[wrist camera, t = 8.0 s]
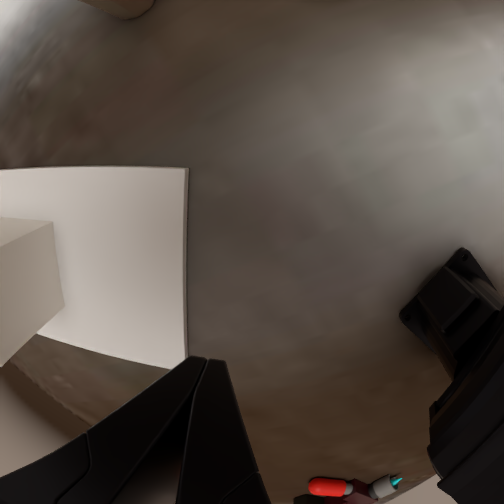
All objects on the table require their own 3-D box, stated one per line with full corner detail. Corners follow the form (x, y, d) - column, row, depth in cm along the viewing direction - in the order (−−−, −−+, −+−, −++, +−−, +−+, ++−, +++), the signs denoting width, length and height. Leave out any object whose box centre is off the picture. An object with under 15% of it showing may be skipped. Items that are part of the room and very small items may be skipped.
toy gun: (406, 472, 27) (414, 504, 22) (325, 508, 30) (326, 537, 26) (365, 448, 25) (372, 488, 20) (275, 488, 29) (273, 522, 24)
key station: (189, 167, 17) (112, 194, 9) (188, 365, 22) (151, 458, 14) (-11, 170, 18) (-92, 194, 10) (14, 319, 23) (-43, 370, 15)
